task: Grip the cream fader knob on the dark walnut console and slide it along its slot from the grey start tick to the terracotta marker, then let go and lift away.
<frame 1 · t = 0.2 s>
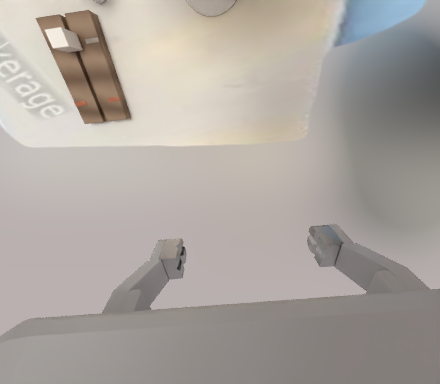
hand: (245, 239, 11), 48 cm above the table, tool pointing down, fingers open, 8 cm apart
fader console: (93, 75, 47), on the table
fader knob: (67, 41, 39), point 5 cm above the table, slide at -6.0 cm
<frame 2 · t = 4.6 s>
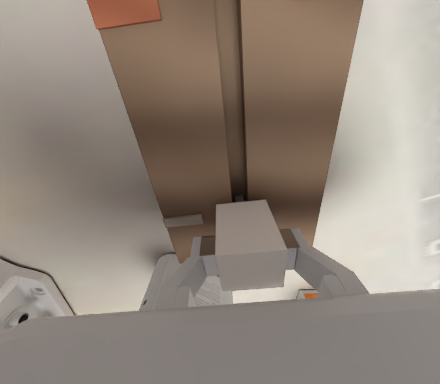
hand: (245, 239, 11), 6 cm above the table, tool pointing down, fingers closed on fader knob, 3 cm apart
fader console: (232, 126, 13), on the table
fader knob: (244, 231, 12), point 5 cm above the table, slide at -6.0 cm, touching gripper
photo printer: (195, 273, 22), on the table
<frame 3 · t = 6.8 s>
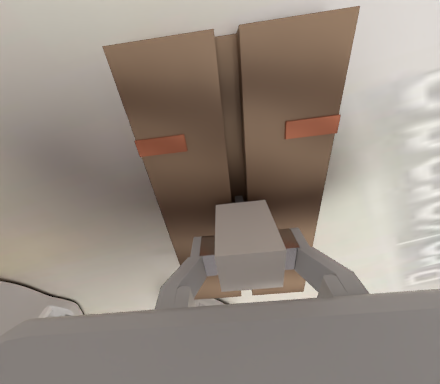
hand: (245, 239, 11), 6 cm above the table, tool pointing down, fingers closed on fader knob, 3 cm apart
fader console: (237, 195, 16), on the table
fader knob: (243, 232, 12), point 5 cm above the table, slide at 0.0 cm, touching gripper
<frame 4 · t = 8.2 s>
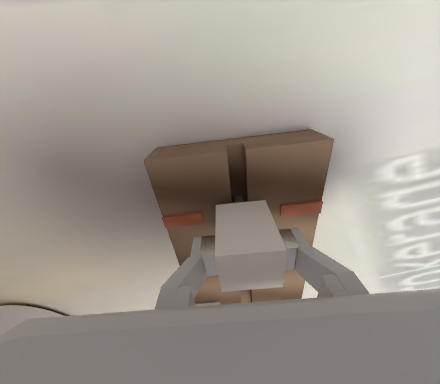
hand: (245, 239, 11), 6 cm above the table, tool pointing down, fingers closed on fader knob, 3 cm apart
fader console: (240, 241, 19), on the table
fader knob: (243, 232, 12), point 5 cm above the table, slide at 5.9 cm, touching gripper
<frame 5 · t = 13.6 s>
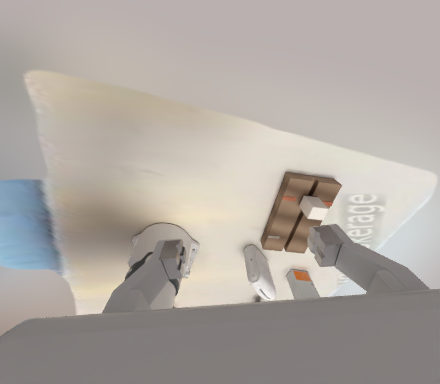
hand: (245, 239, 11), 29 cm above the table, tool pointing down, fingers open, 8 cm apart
skincare box: (296, 273, 60), on the table
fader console: (293, 213, 47), on the table
fader knob: (311, 205, 40), point 5 cm above the table, slide at 6.0 cm
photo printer: (255, 254, 55), on the table
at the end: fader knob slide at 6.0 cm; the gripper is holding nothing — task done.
